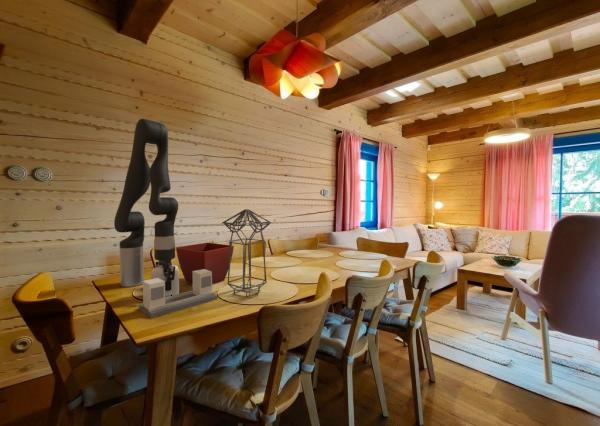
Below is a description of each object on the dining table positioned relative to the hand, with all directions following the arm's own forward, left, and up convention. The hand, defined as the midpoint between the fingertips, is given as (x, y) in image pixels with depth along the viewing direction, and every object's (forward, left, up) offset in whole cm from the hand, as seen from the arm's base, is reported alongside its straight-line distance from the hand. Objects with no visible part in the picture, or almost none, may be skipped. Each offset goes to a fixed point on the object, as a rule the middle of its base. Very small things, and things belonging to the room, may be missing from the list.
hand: (165, 288), depth 113 cm
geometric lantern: (+22, +24, -3) cm, 33 cm away
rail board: (+13, 0, -3) cm, 13 cm away
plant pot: (-6, +21, -3) cm, 22 cm away
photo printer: (0, 0, -3) cm, 3 cm away
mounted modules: (+13, 0, -1) cm, 13 cm away
